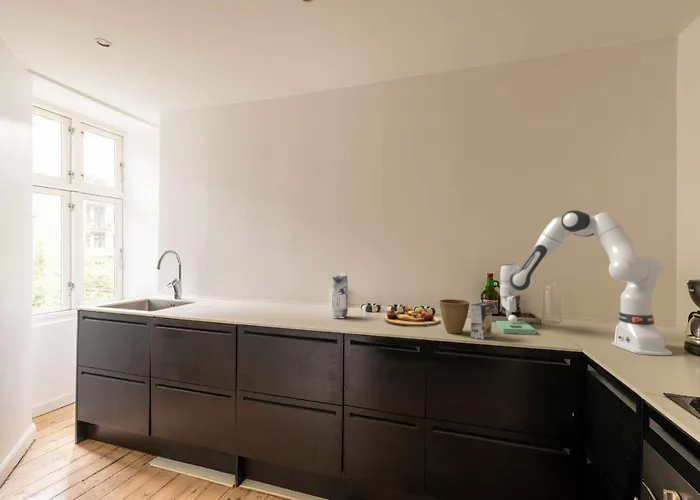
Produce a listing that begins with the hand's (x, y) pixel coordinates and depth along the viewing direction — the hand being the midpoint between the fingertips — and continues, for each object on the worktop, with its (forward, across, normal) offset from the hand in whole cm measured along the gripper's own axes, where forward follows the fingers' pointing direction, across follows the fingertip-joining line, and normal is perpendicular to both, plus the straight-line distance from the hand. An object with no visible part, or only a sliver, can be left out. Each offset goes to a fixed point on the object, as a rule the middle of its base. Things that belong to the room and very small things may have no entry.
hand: (508, 317), depth 217 cm
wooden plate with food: (+4, +1, +54) cm, 54 cm away
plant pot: (+4, -25, +32) cm, 41 cm away
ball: (-1, -10, 0) cm, 10 cm away
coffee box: (+4, -33, +20) cm, 39 cm away
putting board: (+4, -14, 0) cm, 15 cm away
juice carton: (+4, +6, +98) cm, 98 cm away
